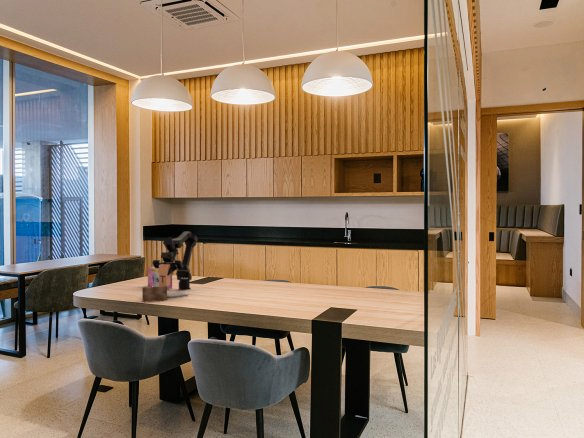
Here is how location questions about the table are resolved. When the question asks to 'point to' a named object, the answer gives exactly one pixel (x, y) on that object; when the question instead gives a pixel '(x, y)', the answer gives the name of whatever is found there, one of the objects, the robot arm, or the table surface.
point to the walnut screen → (154, 293)
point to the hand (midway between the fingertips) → (163, 275)
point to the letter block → (164, 275)
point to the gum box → (156, 277)
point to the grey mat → (176, 294)
